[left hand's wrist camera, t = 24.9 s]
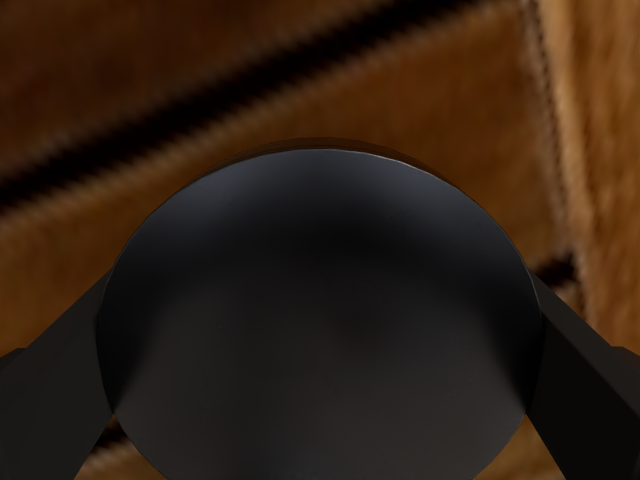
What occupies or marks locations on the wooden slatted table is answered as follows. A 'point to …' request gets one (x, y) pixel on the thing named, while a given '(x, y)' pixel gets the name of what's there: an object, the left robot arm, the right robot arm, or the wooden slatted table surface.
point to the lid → (319, 322)
